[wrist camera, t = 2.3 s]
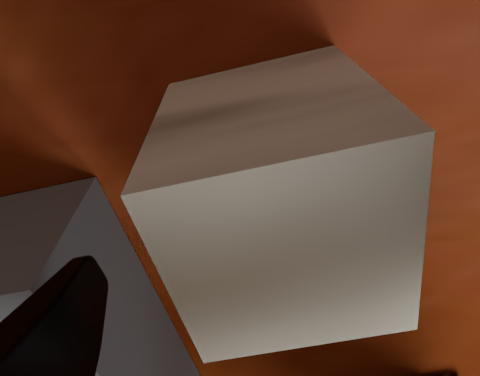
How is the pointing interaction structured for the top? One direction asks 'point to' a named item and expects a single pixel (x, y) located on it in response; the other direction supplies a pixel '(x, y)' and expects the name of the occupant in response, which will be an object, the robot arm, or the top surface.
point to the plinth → (110, 261)
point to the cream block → (285, 205)
